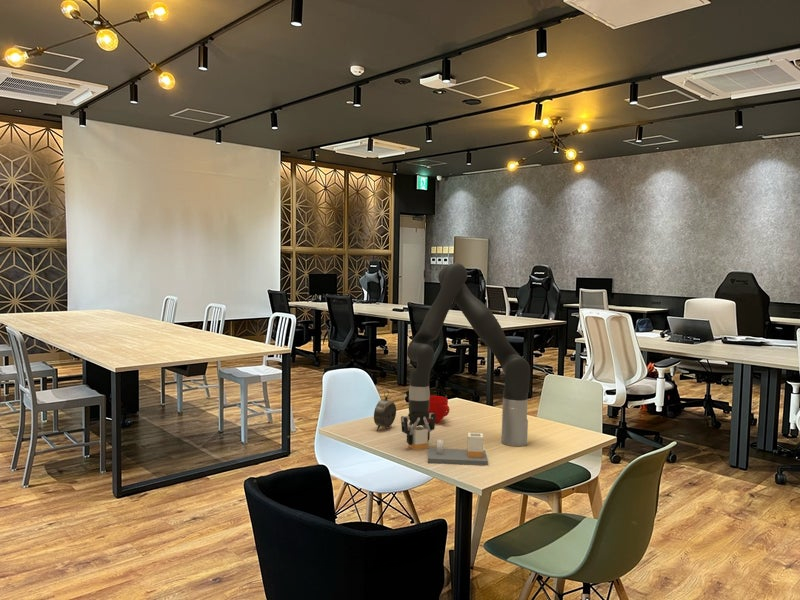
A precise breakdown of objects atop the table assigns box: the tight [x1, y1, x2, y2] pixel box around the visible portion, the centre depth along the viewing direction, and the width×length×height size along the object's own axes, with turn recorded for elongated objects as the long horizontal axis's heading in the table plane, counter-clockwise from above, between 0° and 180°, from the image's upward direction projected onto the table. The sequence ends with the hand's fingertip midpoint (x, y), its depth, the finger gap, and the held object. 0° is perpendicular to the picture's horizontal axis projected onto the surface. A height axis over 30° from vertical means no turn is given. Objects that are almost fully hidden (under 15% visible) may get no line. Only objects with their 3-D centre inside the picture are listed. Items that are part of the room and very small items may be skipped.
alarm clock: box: [373, 389, 397, 432], centre depth 238 cm, size 11×5×16 cm, turn 149°
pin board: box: [427, 432, 489, 466], centre depth 202 cm, size 20×12×8 cm, turn 86°
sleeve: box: [408, 425, 429, 451], centre depth 214 cm, size 5×5×7 cm
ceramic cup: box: [427, 395, 450, 424], centre depth 251 cm, size 13×17×10 cm
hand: (418, 442), depth 214 cm, fingers open, 6 cm apart
